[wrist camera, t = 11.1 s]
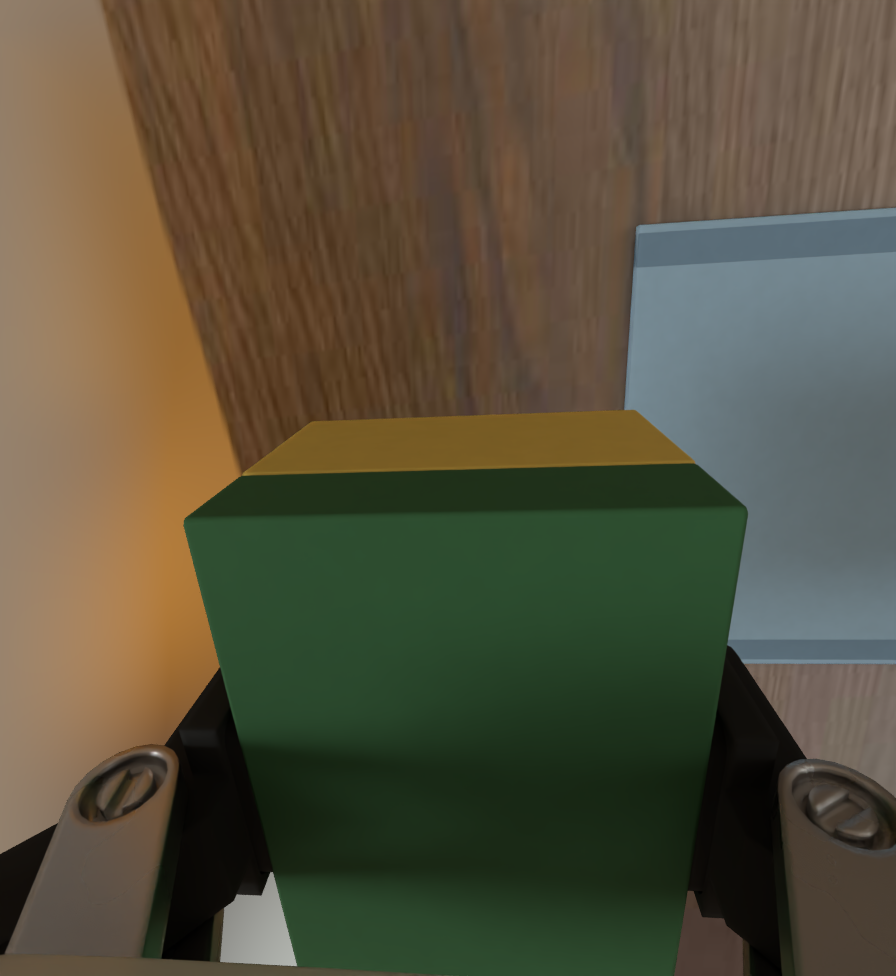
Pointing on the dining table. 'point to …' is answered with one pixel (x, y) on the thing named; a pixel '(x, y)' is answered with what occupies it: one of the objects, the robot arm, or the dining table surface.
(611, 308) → the dining table surface
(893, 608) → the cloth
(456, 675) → the scrubber
